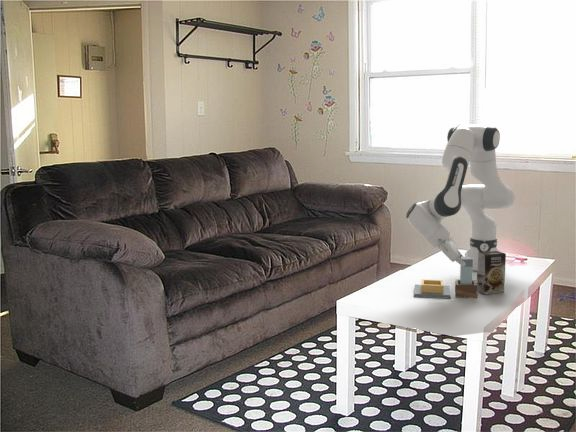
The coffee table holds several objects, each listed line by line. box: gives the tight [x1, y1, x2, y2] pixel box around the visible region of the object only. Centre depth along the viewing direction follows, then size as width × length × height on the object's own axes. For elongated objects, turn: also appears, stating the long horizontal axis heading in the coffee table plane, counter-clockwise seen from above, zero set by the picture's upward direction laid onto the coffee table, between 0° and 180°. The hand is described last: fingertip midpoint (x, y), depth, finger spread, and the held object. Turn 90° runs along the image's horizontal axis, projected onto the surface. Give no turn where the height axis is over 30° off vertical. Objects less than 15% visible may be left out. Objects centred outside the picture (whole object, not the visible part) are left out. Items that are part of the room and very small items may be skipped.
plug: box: [459, 256, 474, 285], centre depth 251 cm, size 4×4×15 cm
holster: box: [454, 279, 478, 299], centre depth 252 cm, size 8×8×5 cm
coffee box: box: [476, 251, 507, 295], centre depth 255 cm, size 9×6×16 cm
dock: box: [413, 279, 451, 299], centre depth 256 cm, size 14×14×4 cm
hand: (463, 262), depth 251 cm, fingers open, 8 cm apart
